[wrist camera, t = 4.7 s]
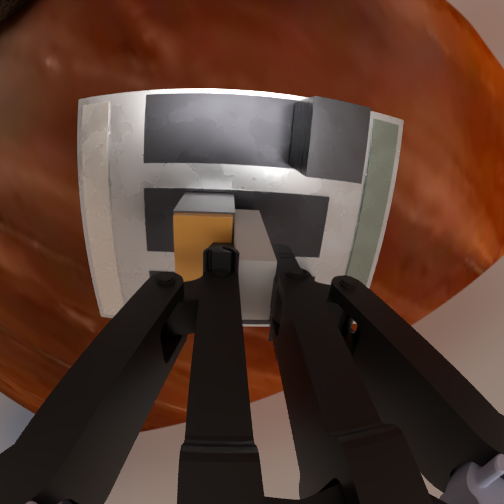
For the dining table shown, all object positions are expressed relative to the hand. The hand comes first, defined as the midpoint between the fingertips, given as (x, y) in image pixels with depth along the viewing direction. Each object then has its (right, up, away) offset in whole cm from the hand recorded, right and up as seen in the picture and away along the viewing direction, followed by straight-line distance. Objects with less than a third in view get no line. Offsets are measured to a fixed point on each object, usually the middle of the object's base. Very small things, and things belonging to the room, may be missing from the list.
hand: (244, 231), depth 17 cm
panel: (-1, +2, +3) cm, 4 cm away
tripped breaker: (-2, +1, +1) cm, 3 cm away
